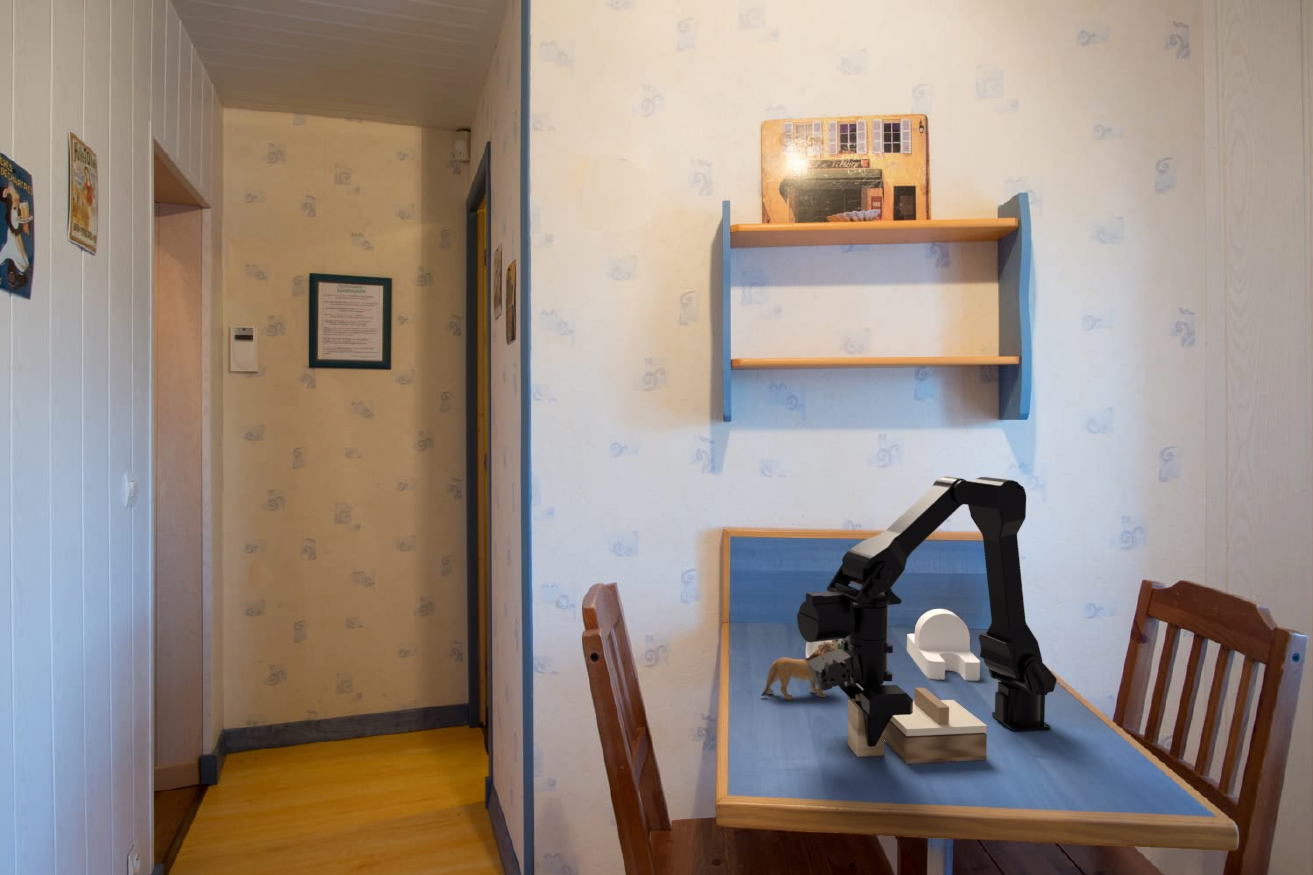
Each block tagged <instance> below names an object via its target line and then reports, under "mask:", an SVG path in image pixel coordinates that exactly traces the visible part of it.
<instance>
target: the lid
mask: <svg viewBox="0 0 1313 875" xmlns="http://www.w3.org/2000/svg"><path fill="white" fill-rule="evenodd" d="M891 721H892V722H893V723H894V724H895V725H896V726H897V727H898V728H899V729H900V730H901V731H902V732H903V733H904V734H905V735H906V736H921V735H944V734H966V733H985V734H986V733H987V732H988V725H987V724H985V723H984V722H983V721H982V720H980V719H979V718H978V717H976V716H975V715H974V714H973V713H971V712H970V711H968V710H967V709H966V708H964V707H963V706H962V705H961V704H960V703H958V702H957V701H956V700H955V699H941V700H940V699H939V698H938V697H937V696H935V695H934V694H933V693H932V692H930V691H929V690H928V689H926V688H925V687H914V700H913V713H912V714H911V715H893V717H892V718H891Z"/></svg>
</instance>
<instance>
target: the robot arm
mask: <svg viewBox="0 0 1313 875" xmlns="http://www.w3.org/2000/svg"><path fill="white" fill-rule="evenodd" d="M1026 493H1027V492H1026V490H1025V487H1024V486H1022V485H1021V484H1020V483H1019V482H1018V481H1015V480H1013V479H1007V478H1006V479H1005V478H997V477H989V476H979V477H977V478H975V479H974V480H973V481H971V480H970V481H968V480H966V479H964V478H959V477H953V476H942V477H939V478H938V479H935V481H934V482H933V484H932V486H931V487H930V488H929V489H928V490H927V491H926V492H925V493H924V494H923V495H921V497H920V498H918V500H916V501H915V503H913V504H912V505H911V506H910V507H909V508H908V509H906V511H905V512H904V513H903V514H901V516H899V517H898V518H897V519H896V520H895V521H894V522H893V523H892V524H891V525H890V526H889V527H888V528H886V529H885V530H884V531H882V532H880V533H879V534H876V535H875V536H871V537H869V538H866V539H864V540H862V541H861V542H858V543H857V544H856V545H855V546H853V547H851V548H850V549H849V550H847V551H846V552H845V554H844V555H843V557H842V559H841V561H842V562H841V566H840V567H839V568H838V570H837V571H836V573H835V575H834V576H833V578H832V579H831V581H830V582H829V584H828V586H827V587H826V591H827V592H818V593H817V592H807V593H806V594H805V601H804V602H802V603H801V605H800V606H799V609H798V612H797V615H796V619H797V620H796V622H797V626H798V630H799V633H800V635H801V637H802V638H803V640H805V641H806V643H807V642H819V641H827V640H836V639H843V640H841V649H839V650H836V651H831V652H828V653H826V654H823V655H821V656H818V657H816V658H813V659H811V660H809V661H808V666H809V669H810V672H811V675H812V678H813V681H814V683H815V685H816V686H817V685H818V687H819V688H820V689H821V690H823V692H825V691H828V690H831V689H832V688H834V687H838V688H839V689H841V691H842V692H843V693H845V695H846V697H847V700H848V699H856V694H860V701H854V703H855V704H856V705H857V706H858V707H859V708H860V709H861V710H862V711H863V715H864V724H865V732H866V739H867V745H868V746H869V747H873V746H876V744H877V742H878V741H879V739H880V737H881V735H882V733H883V732H884V730H885V728H886V726H887V724H888V723H889V721H890V720H891V718H892V717H893V715H911V714H912V713H913V701H914V698H912V696H910V694H908V693H907V692H906V691H904V689H902V688H901V687H900V686H899V685H898V684H884V682H893V673H891V672H890V670H888V657H889V656H888V654H893V653H894V650H893V649H894V646H893V644H891V643H889V606H893V605H901V604H902V602H903V601H902V598H900V597H899V596H898V595H896V594H895V593H894V591H893V589H892V587H894V585H895V583H896V582H897V581H898V580H899V579H900V577H901V576H902V575H903V573H904V571H905V570H906V565H907V562H908V558H909V557H910V556H911V555H912V554H913V552H914V551H915V550H916V549H917V548H918V547H919V546H920V545H921V544H923V543H924V541H926V539H927V538H929V537H930V536H931V535H932V534H933V533H934V532H935V531H936V530H937V529H938V528H939V527H940V526H941V525H942V524H943V523H944V522H946V520H948V519H949V518H950V517H951V516H952V515H953V514H954V513H955V512H956V511H957V510H958V509H959V508H960V507H961V506H963V505H966V506H967V507H968V511H969V515H970V517H971V519H972V521H973V522H974V524H975V525H976V527H977V528H978V530H979V531H980V533H981V535H982V542H983V551H984V559H985V561H984V562H985V569H986V570H985V571H986V579H987V588H988V598H989V599H988V600H989V606H990V609H989V610H990V619H991V621H990V622H991V623H990V625H989V626H988V628H987V631H986V632H985V633H984V632H983V633H980V634H978V641H979V645H980V653H979V657H980V658H981V659H983V661H984V665H985V666H986V667H987V669H988V672H989V676H990V678H991V679H993V680H998V682H997V691H995V693H994V694H995V696H994V711H993V712H991V717H992V718H994V719H995V720H996V721H997V720H998V721H999V722H1000V723H1001V724H1002V725H1004V726H1005V727H1007V728H1009V730H1011V731H1013V732H1015V731H1016V732H1017V731H1019V732H1020V731H1021V732H1022V731H1041V730H1045V731H1046V730H1051V728H1052V727H1051V725H1050V724H1049V723H1047V722H1046V721H1045V718H1046V717H1045V714H1046V713H1045V712H1046V711H1045V710H1046V696H1048V694H1050V693H1053V692H1054V691H1055V687H1056V684H1057V681H1058V679H1057V677H1056V676H1055V675H1054V674H1053V672H1052V671H1051V670H1050V669H1049V668H1048V667H1047V666H1046V664H1045V663H1044V662H1043V657H1042V652H1041V649H1040V648H1041V647H1040V645H1039V641H1038V640H1037V638H1036V636H1035V635H1034V633H1033V631H1032V630H1031V628H1030V626H1029V625H1028V623H1027V622H1026V613H1025V612H1026V611H1025V603H1024V602H1025V601H1024V592H1023V582H1022V573H1021V571H1022V570H1021V563H1020V562H1021V561H1020V553H1019V550H1020V549H1019V543H1018V542H1019V540H1018V533H1019V532H1020V529H1021V528H1022V526H1023V523H1024V522H1025V520H1026V515H1027V514H1026V513H1027V494H1026ZM850 584H851V585H853V586H855V587H859V588H860V589H858V588H855V587H853V586H850Z"/></svg>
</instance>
